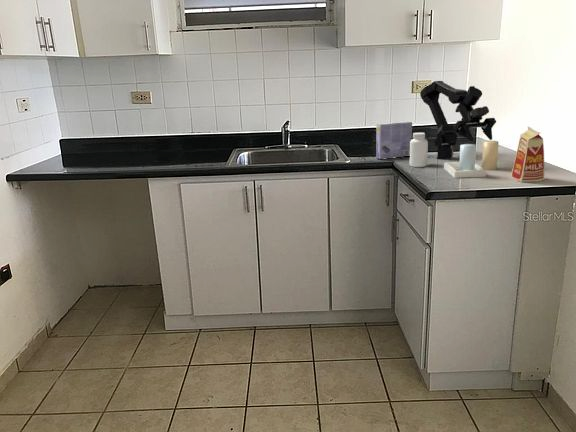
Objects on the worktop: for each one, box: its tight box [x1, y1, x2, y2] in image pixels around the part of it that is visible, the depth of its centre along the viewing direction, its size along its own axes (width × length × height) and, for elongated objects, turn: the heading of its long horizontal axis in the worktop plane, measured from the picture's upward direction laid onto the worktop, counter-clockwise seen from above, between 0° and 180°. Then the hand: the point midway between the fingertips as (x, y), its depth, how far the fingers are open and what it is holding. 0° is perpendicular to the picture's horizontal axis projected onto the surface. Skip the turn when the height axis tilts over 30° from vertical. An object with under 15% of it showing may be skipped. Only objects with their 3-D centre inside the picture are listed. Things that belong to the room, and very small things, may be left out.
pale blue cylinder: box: [459, 143, 477, 171], centre depth 201 cm, size 6×6×12 cm
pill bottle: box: [408, 132, 429, 168], centre depth 226 cm, size 8×8×15 cm
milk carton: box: [510, 126, 545, 183], centre depth 187 cm, size 9×9×20 cm
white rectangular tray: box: [443, 161, 487, 179], centre depth 207 cm, size 20×12×3 cm, turn 175°
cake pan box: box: [375, 121, 413, 160], centre depth 250 cm, size 19×5×18 cm, turn 108°
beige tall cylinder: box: [481, 140, 500, 171], centre depth 210 cm, size 6×6×12 cm
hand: (482, 140), depth 213 cm, fingers open, 9 cm apart
